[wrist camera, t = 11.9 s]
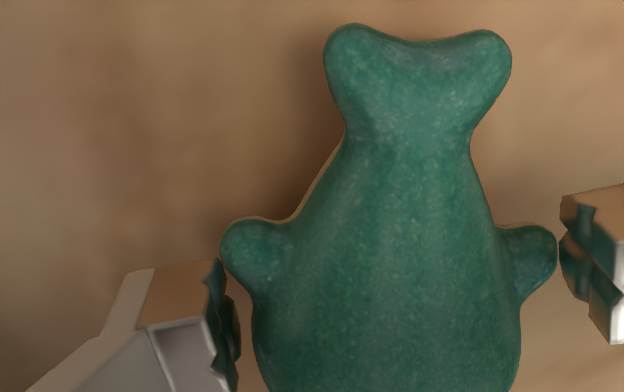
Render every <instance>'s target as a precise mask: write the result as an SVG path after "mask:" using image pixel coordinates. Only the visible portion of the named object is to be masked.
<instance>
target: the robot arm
mask: <svg viewBox="0 0 624 392" xmlns="http://www.w3.org/2000/svg"><path fill="white" fill-rule="evenodd" d="M559 219H560V221H561V222H562V223H563V224H564V226H565V227H566V228H567V229H568V231H567V232H566V233H565V235H564V236H563V237H562V239H561V240H560V242H559V261H560V266H561V270H562V274H563V277H564V279H565V282H566V284H567V286H568V288H569V289H570V291H571V292H572V294H573V295H574V297H575V298H577V299H579V300H581V301H584V302H586V303H588V304H589V315H588V316H589V318H590V319H591V320H592V322H593V323H594V324H595V326H596V327H597V328H598V330H599V331H600V333H601V334H602V335H603V337H604V338H605V339H606V341H607V342H608V343H609V345H614V344H621V343H624V183H622V184H617V185H612V186H608V187H603V188H598V189H593V190H588V191H583V192H579V193H574V194H569V195H565V196H562V199H561V203H560V211H559ZM226 284H227V277H226V274H225V271H224V268H223V265H222V262H221V261H220V260H219V259H218V258H212V259H206V260H200V261H193V262H187V263H181V264H175V265H169V266H162V267H159V268H157V267H154V268H149V269H144V270H139V271H134V272H130V273H128V274H126V275H125V277H124V279H123V281H122V284H121V286H120V288H119V291H118V293H117V296H116V298H115V300H114V303H113V305H112V308H111V310H110V312H109V315H108V317H107V320H106V322H105V325H104V327H103V329H102V332H101V334H100V336H99V337H93V338H90V339H89V340H87V341H86V342H85V343H84V344H82V345H81V346H80V347H79V348H77V349H76V350H75V351H74V352H72V353H71V354H70V355H69V356H68V357H66V358H65V359H64V360H63V361H61V362H60V363H59V364H58V365H56V366H55V367H54V368H53V369H51V370H50V371H49V372H48V373H47V374H45V375H44V376H43V377H42V378H40V379H39V380H38V381H37V382H35V383H34V384H33V385H32V386H30V387H29V388H28V389H27V390H26V391H24V392H237V390H238V379H239V375H238V372H237V369H236V366H235V362H236V361H237V359H238V358H239V357H240V356H241V330H240V323H239V318H238V313H237V309H236V306H235V303H234V300H233V299H231V298H230V297H228V296H227V295H226V294H225V292H226Z"/></svg>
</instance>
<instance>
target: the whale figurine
mask: <svg viewBox="0 0 624 392" xmlns="http://www.w3.org/2000/svg"><path fill="white" fill-rule="evenodd" d="M323 67H324V71H325V75H326V79H327V83H328V86H329V90H330V92H331V95H332V98H333V100H334V102H335V104H336V105H337V107H338V109H339V110H340V112H341V115H342V117H343V120H344V124H345V130H344V135H343V137H342V140H341V141H340V143H339V144H338V145H337V147H336V148H335V149H334V151H333V152H332V154H331V155H330V157H329V158H328V159H327V161H326V162H325V164H324V165H323V167H322V168H321V170H320V171H319V173H318V174H317V176H316V177H315V179H314V181H313V182H312V184H311V186H310V187H309V189H308V191H307V192H306V194H305V196H304V198H303V199H302V201H301V203H300V204H299V206H298V208H297V209H296V211H295V212H294V213H293V214H292V215H291V216H290V217H288V218H286V219H283V220H271V219H267V218H264V217H262V216H257V215H249V216H245V217H241V218H237V219H235V220H234V221H233V222H232V223H231V224H230V225H229V226H228V227H227V228H226V230H225V231H224V233H223V235H222V238H221V242H220V247H219V251H220V255H221V259H222V262H223V264H224V266H225V267H226V269H227V270H228V271H229V273H230V274H231V275H232V276H233V277H234V278H235V279H236V280H237V281H238V282H239V283H240V284H241V285H242V286H243V287H244V288H245V290H246V291H247V292H248V293H249V294H250V297H251V300H252V304H253V309H252V317H251V329H252V343H253V350H254V354H255V358H256V361H257V364H258V367H259V371H260V373H261V376H262V378H263V380H264V382H265V384H266V386H267V388H268V390H269V392H509V390H510V388H511V386H512V384H513V382H514V379H515V376H516V373H517V370H518V366H519V360H520V354H521V328H520V308H521V305H522V303H523V302H524V301H525V300H526V298H527V297H528V296H529V295H530V294H532V293H533V292H534V291H535V290H536V289H537V288H539V287H540V286H541V285H542V284H543V283H544V282H545V281H547V280H548V279H549V277H550V276H551V275H552V274H553V272H554V271H555V269H556V266H557V262H558V248H557V241H556V238H555V236H554V234H553V233H552V232H551V231H550V230H548V229H547V228H545V227H544V226H542V225H540V224H537V223H535V222H520V223H515V224H511V225H507V226H504V225H497V224H495V223H494V222H493V218H492V215H491V211H490V208H489V205H488V202H487V200H486V197H485V194H484V191H483V188H482V186H481V183H480V180H479V177H478V174H477V172H476V170H475V168H474V165H473V162H472V159H471V154H470V139H471V135H472V133H473V130H474V128H475V127H476V126H477V125H478V123H479V122H480V120H481V119H482V118H483V116H484V115H485V114H486V113H487V111H488V110H489V109H490V108H491V107H492V105H493V103H494V102H495V100H496V99H497V97H498V96H499V95H500V93H501V92H502V90H503V88H504V87H505V85H506V83H507V81H508V79H509V77H510V73H511V68H512V55H511V51H510V49H509V47H508V45H507V44H506V42H505V41H504V40H503V39H502V38H501V37H500V36H499V35H497V34H496V33H494V32H493V31H490V30H485V29H479V30H473V31H469V32H465V33H462V34H458V35H455V36H451V37H447V38H441V39H435V40H411V39H404V38H399V37H395V36H392V35H388V34H385V33H383V32H380V31H378V30H375V29H373V28H371V27H368V26H366V25H363V24H359V23H350V24H346V25H342V26H340V27H339V28H337V29H335V30H334V31H333V32H332V33H331V34H330V36H329V37H328V39H327V41H326V44H325V46H324V49H323Z"/></svg>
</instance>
